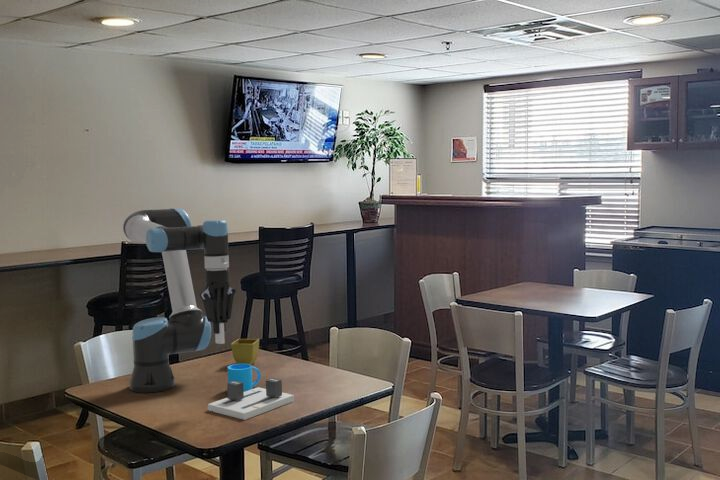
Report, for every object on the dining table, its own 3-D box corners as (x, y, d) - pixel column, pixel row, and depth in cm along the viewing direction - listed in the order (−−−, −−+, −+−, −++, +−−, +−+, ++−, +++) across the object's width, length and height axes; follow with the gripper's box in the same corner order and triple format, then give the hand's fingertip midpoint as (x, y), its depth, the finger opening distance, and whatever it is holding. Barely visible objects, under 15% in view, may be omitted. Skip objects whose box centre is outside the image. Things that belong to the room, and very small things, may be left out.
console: (208, 410, 230) (207, 403, 230) (258, 393, 248) (258, 386, 247) (244, 419, 220) (244, 412, 220) (294, 401, 238) (294, 394, 238)
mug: (235, 395, 246) (234, 371, 245) (223, 390, 252) (223, 366, 251) (266, 388, 253) (266, 364, 252) (254, 383, 259) (254, 360, 259)
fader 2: (266, 395, 236) (265, 380, 236) (272, 393, 239) (272, 377, 238) (275, 397, 234) (275, 381, 233) (282, 395, 236) (281, 379, 236)
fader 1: (227, 398, 234) (227, 382, 233) (234, 396, 236) (234, 380, 236) (236, 400, 231) (236, 384, 231) (243, 398, 234) (243, 382, 233)
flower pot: (231, 366, 282) (230, 343, 282) (238, 361, 291) (238, 338, 290) (253, 367, 281) (252, 344, 280) (260, 361, 290) (259, 338, 289)
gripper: (208, 271, 227) (211, 348, 229) (240, 267, 237) (243, 340, 239) (192, 270, 232) (196, 345, 233) (225, 266, 242) (228, 338, 243)
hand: (220, 343), depth 236 cm, fingers closed
